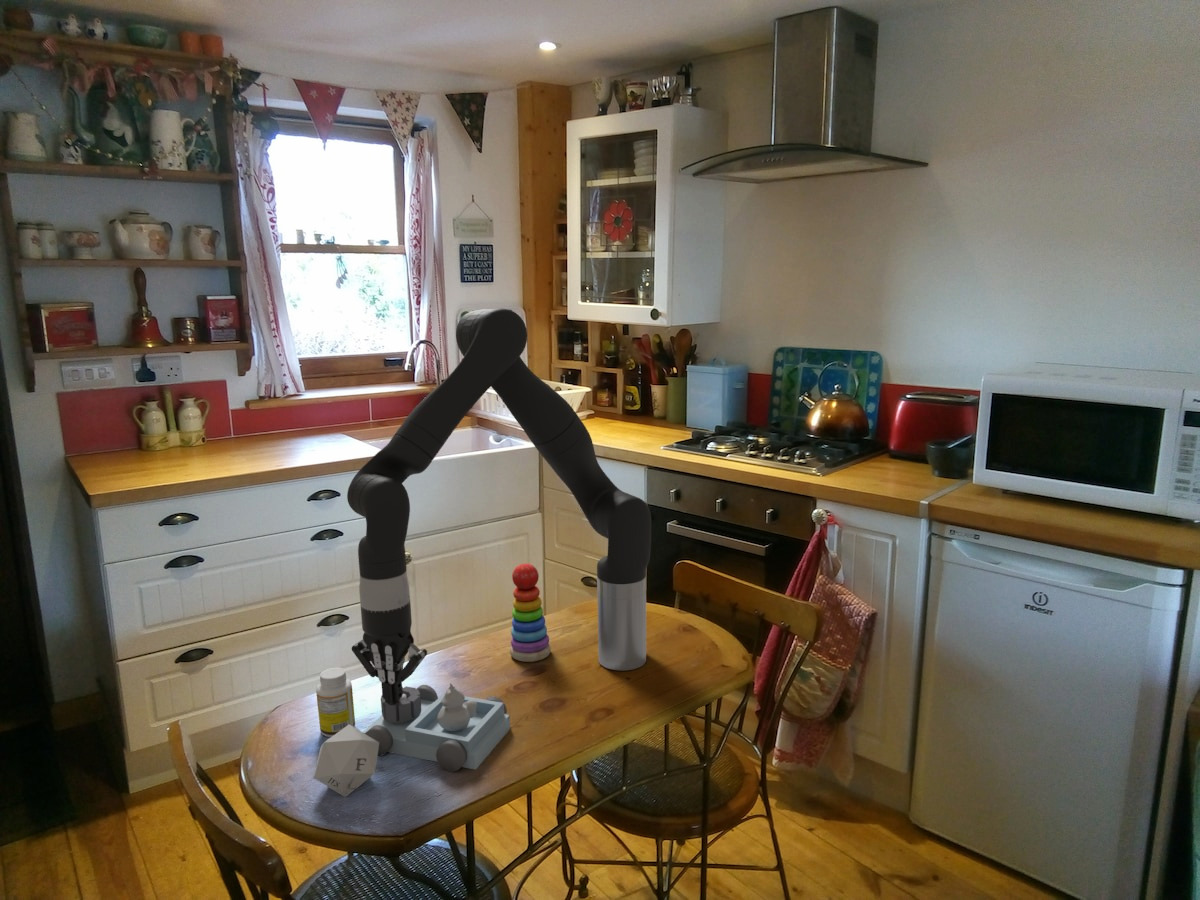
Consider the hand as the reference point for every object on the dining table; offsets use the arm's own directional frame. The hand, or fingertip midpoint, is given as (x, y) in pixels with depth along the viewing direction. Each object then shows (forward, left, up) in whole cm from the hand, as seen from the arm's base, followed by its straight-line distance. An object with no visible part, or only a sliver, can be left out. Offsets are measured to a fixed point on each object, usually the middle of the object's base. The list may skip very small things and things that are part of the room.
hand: (392, 701), depth 131 cm
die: (+13, +1, -7) cm, 14 cm away
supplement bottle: (+1, -10, -7) cm, 12 cm away
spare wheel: (-2, 0, -3) cm, 4 cm away
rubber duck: (-2, +10, -4) cm, 11 cm away
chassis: (-2, +7, -6) cm, 9 cm away
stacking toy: (-34, +9, -7) cm, 36 cm away
